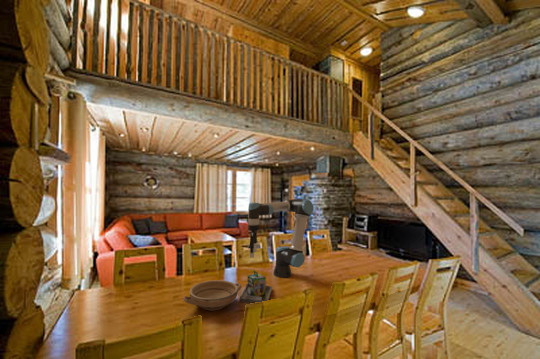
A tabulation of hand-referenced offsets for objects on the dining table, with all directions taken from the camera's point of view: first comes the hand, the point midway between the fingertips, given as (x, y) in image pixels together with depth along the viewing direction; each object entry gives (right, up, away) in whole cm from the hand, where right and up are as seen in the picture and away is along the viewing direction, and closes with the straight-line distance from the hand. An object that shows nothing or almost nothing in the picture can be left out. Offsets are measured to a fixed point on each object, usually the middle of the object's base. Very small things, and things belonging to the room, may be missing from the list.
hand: (253, 254), depth 173 cm
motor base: (+3, -24, -9) cm, 26 cm away
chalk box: (+3, -23, -11) cm, 25 cm away
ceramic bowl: (-22, -23, -25) cm, 41 cm away
